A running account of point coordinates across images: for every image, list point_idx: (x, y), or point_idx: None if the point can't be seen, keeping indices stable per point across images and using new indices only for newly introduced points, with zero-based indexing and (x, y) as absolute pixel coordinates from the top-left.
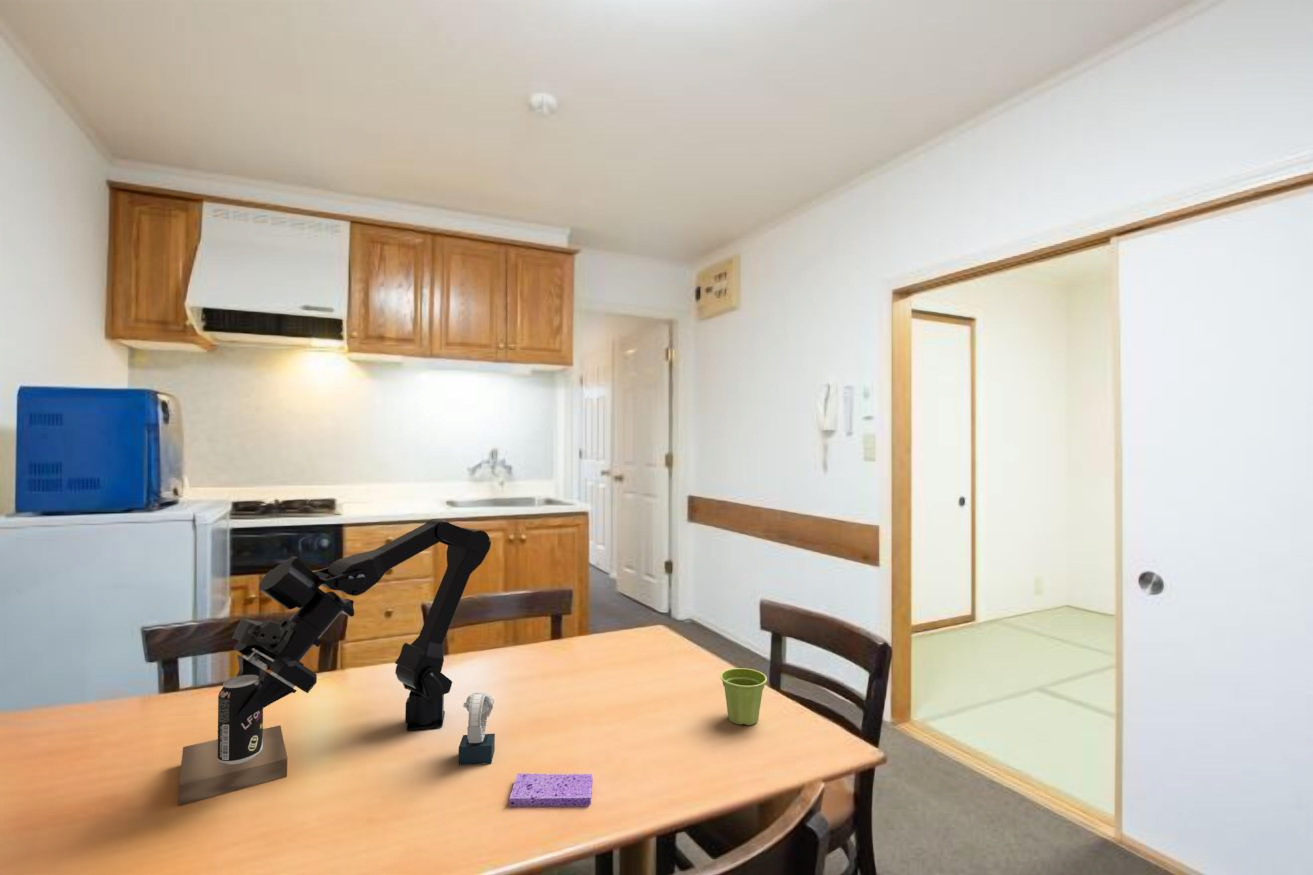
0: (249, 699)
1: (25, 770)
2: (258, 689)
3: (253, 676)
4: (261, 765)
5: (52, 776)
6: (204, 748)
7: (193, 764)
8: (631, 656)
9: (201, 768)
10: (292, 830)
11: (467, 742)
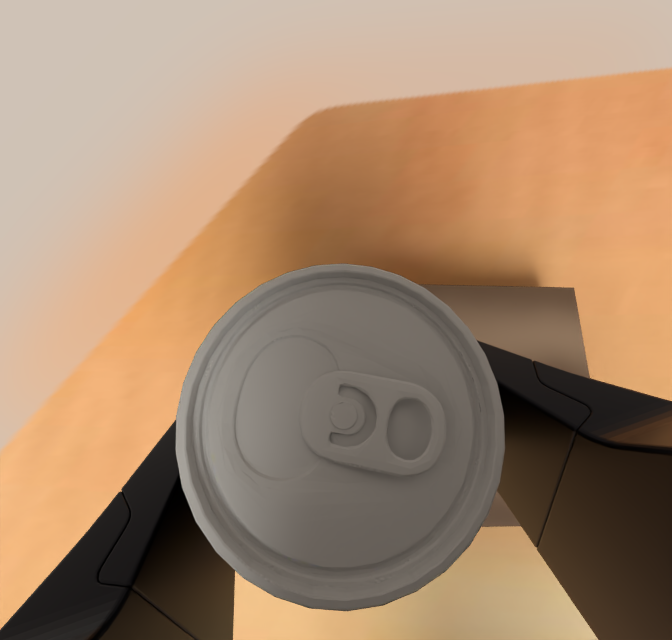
0: (153, 465)
1: (638, 85)
2: (56, 574)
3: (434, 543)
4: None
5: (595, 119)
6: (542, 330)
7: (460, 309)
8: None
9: None
10: (96, 502)
11: None
